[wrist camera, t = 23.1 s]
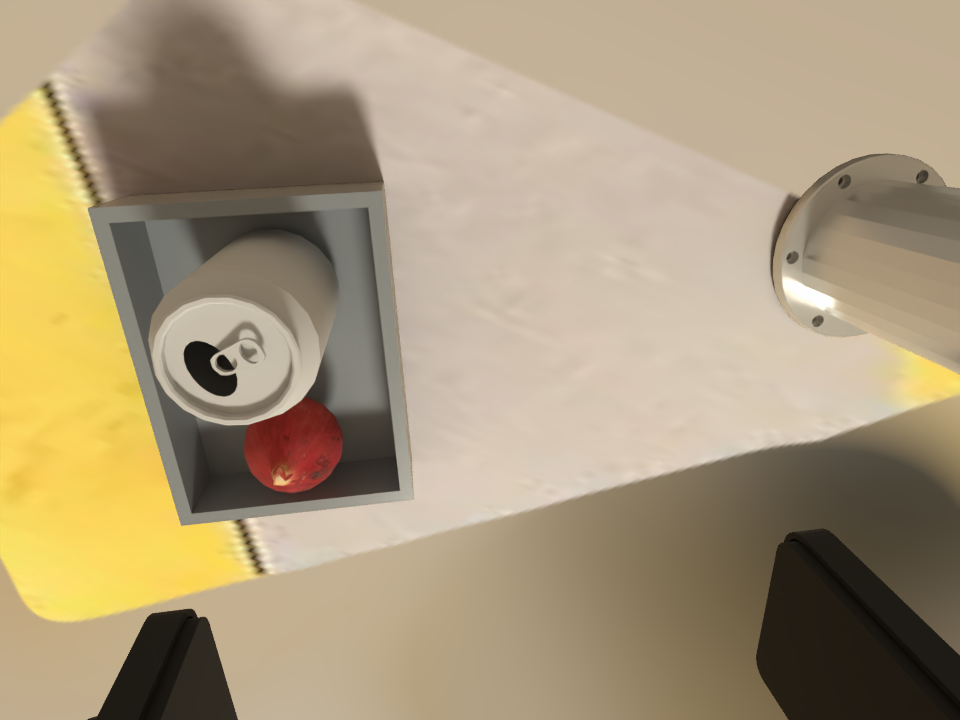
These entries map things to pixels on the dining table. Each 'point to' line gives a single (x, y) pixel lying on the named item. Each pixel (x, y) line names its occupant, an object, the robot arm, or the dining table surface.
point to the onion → (294, 447)
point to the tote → (345, 363)
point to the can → (246, 328)
